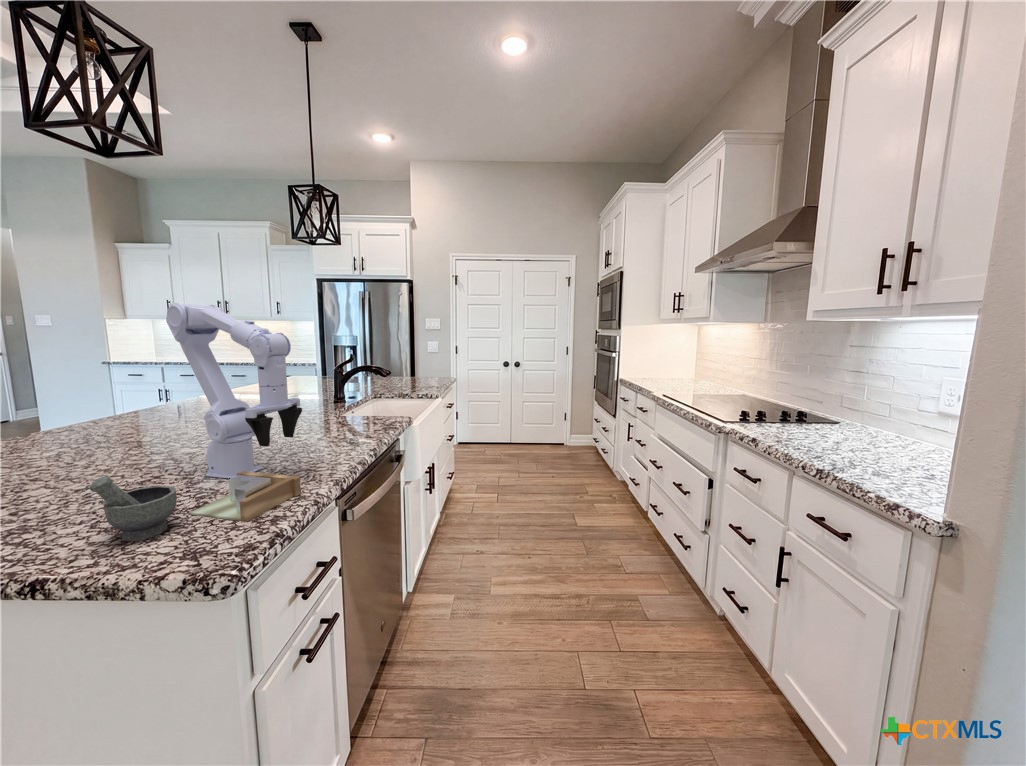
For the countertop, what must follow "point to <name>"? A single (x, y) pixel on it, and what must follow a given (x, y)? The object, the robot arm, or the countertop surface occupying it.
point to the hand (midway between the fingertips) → (277, 441)
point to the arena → (253, 499)
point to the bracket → (246, 487)
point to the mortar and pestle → (136, 508)
